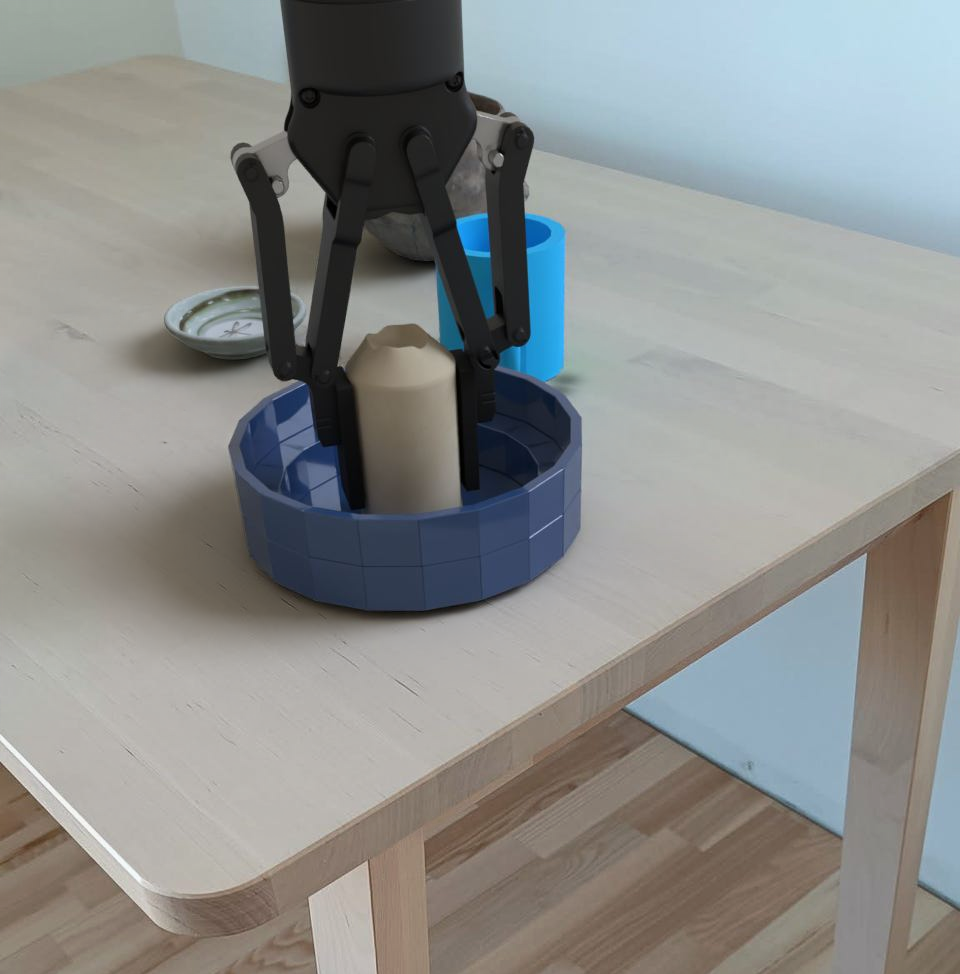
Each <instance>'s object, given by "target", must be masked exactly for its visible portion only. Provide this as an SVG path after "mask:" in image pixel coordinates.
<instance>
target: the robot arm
mask: <svg viewBox="0 0 960 974" xmlns="http://www.w3.org/2000/svg"><path fill="white" fill-rule="evenodd" d="M279 3H280V11H281V18H282V19H281V20H282V27H283V28H282V29H283V36H284V45H285V52H286V60H287V67H288V69H287V70H288V76H289V84H290V102H289V107H288V111H287V113H286V115H285V119H284V122H283V131H281V132H279V133H276V134H275V135H272V136H271V137H268V138H267V139H264V140H262V141H260V142H257V144H253V145H251V144H250V143H248V142H239V143H236V144H235V145H234V146H233V147H232V149H231V150H230V162H231V165H232V167H233V170H234V172H235V174H236V176H237V180H238V181H239V183H240V185H241V188H242V189H243V192H244V194H245V196H246V198H247V200H248V204H249V206H248V207H249V214H250V220H251V221H250V223H251V232H252V240H253V250H254V260H255V267H256V276H257V286H259V295H260V304H261V313H262V322H263V331H264V340H265V349H266V353H265V354H266V356H267V360H268V362H269V365H270V368H271V370H272V373H273V376H274V377H275V378H276V379H277V380H279V381H281V382H289V381H302V382H304V383H306V384H307V385H308V389H309V396H310V404H311V411H312V419H313V427H314V429H315V432H316V435H317V437H318V439H319V441H320V443H321V444H322V446H323V447H330V446H336V445H337V452H338V460H339V468H340V476H341V485H342V489H343V491H344V494H345V496H346V499H347V501H348V504H349V506H350V509H351V510H357V509H364V508H365V503H364V493H363V484H362V475H361V466H360V456H359V447H358V438H357V429H356V419H355V410H354V401H353V392H352V387H351V384H350V382H349V380H348V378H347V376H346V374H345V371H344V369H343V367H344V366H343V365H340V366H339V361H340V355H341V351H342V349H341V348H342V343H343V337H344V331H345V326H346V320H347V319H346V318H347V313H348V307H349V302H350V296H351V289H352V284H353V277H354V273H355V272H354V271H355V265H356V258H357V254H358V249H359V246H360V245H361V243H362V240H363V234H364V229H365V227H364V222H365V220H373V219H377V218H379V217H382V216H384V215H386V214H389V213H391V212H395V213H401V214H407V215H412V214H418V215H419V217H420V220H421V222H422V225H423V228H424V231H425V234H426V237H427V240H428V243H429V246H430V249H431V251H432V254H433V257H434V260H433V261H434V263H435V267H436V266H437V269H438V272H439V275H440V278H441V281H442V284H443V287H444V290H445V293H446V296H447V299H448V302H449V304H450V307H451V310H452V313H453V316H454V319H455V322H456V325H457V328H458V331H459V334H460V337H461V340H462V342H463V343H464V351H463V350H462V349H456V350H449V352H450V353H451V354H452V355H453V356H454V358H455V364H456V383H457V403H458V422H459V442H460V461H461V481H462V484H463V486H464V488H465V490H466V492H467V491H473V490H480V477H479V452H478V427H477V423H482V422H489V421H492V420H493V417H494V414H495V376H494V369H495V368H496V367H497V366H498V364H499V362H500V353H501V352H503V351H504V350H506V349H508V348H510V347H512V346H514V347H521V346H524V345H525V344H526V343H527V342H528V341H529V339H530V335H531V327H530V306H529V286H528V265H527V245H526V224H525V213H526V208H525V207H526V206H525V202H524V180H525V181H526V175H527V171H528V168H529V164H530V160H531V156H532V153H533V148H534V145H535V134H534V132H533V130H532V129H531V128H530V127H529V126H528V125H527V124H526V123H525V122H524V121H523V120H522V119H520V118H519V117H518V116H517V115H516V114H515V113H513V112H512V111H505V113H502V114H501V115H500V116H496V115H492V114H488V113H484V112H480V111H476V108H475V106H474V104H473V102H472V100H471V98H470V97H469V94H468V92H467V91H468V90H467V86H466V80H465V55H464V52H465V51H464V30H463V28H464V27H463V1H462V0H279ZM472 139H474V140H475V141H476V144H477V156H478V159H479V160H480V162H481V163H482V164H483V165H484V166H485V167H486V169H485V186H486V201H487V216H488V230H489V245H490V260H491V274H492V289H493V303H494V316H492V317H490V318H488V319H486V316H485V313H484V310H483V307H482V304H481V301H480V298H479V295H478V291H477V288H476V285H475V282H474V279H473V276H472V273H471V270H470V266H469V263H468V260H467V257H466V254H465V251H464V248H463V245H462V242H461V238H460V235H459V232H458V229H457V222H456V218H455V215H454V212H453V209H452V205H451V202H450V199H449V196H448V193H447V190H446V187H445V186H446V185H447V183H448V181H449V179H450V177H451V176H452V174H453V172H454V170H455V168H456V167H457V165H458V163H459V161H460V159H461V158H462V156H463V154H464V152H465V150H466V149H467V147H468V145H469V143H470V141H471V140H472ZM296 160H297V161H298V163H300V165H301V166H302V167H303V168H304V169H305V170H306V171H307V173H308V174H309V175H310V176H311V177H312V179H313V180H314V181H315V182H316V184H318V186H319V188H321V189H322V190H323V192H324V193H325V194H324V200H323V206H322V217H321V218H322V229H321V234H320V235H321V236H320V242H319V249H318V255H317V263H316V268H315V269H316V270H315V276H314V283H313V290H312V296H311V303H310V310H309V316H308V317H309V318H308V322H307V323H308V324H307V330H306V337H305V343H304V345H299V344H296V337H295V336H296V335H295V331H294V324H293V314H292V303H291V293H292V292H291V283H290V272H289V264H288V263H289V261H288V251H287V240H286V231H285V223H284V216H283V212H282V208H281V205H280V201H279V198H281V197H283V196H284V195H285V194H286V193H288V190H289V186H290V179H289V175H288V174H289V169H290V166H291V164H293V162H295V161H296Z"/></svg>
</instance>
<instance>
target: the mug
mask: <svg viewBox="0 0 960 974" xmlns="http://www.w3.org/2000/svg"><path fill="white" fill-rule="evenodd" d="M456 222H457V229H458V232H459V235H460V238H461V242H462V245H463V248H464V251H465V254H466V257H467V260H468V263H469V266H470V270H471V273H472V276H473V279H474V282H475V285H476V288H477V291H478V295H479V298H480V301H481V304H482V307H483V310H484V313H485V316H486V319H488V318H490V317H492V316H494V303H493V289H492V274H491V260H490V245H489V230H488V216H487V213H484V214H476V215H471V216H467V217H463V218H459V219H456ZM525 224H526V245H527V265H528V286H529V306H530V327H531V335H530V339H529V341H528V342H527V343H526V344H525V345H524V346H521V347H514V346H512V347H510V348H508V349H506V350H504V351H503V352H501V353H500V362H499V364H498V366H502V367H505V368H508V369H511V370H515V371H518V372H521V373H525V374H528V375H531V376H534V377H536V378H538V379H539V380H541V381H543V382H544V383H546V382H547V381H549V380H550V379H553V378H555V377H557V375H558V374H559V373H560V372H561V371H562V370H563V369H564V361H565V293H566V292H565V289H566V288H565V287H566V286H565V285H566V284H565V283H566V282H565V281H566V280H565V279H566V229H565V228H564V226H563V225H562V224H561V222H558V221H556V220H554V219H552V218H550V217H546V216H543V215H537V214H535V213H527V212H525ZM435 276H436V277H435V278H436V279H435V280H436V295H437V311H438V327H439V328H438V329H439V343H441V344H442V345H443V346H444V347H445V348H446V349H447V350H448V351H449V350H456V349H462V350H463V351H464V343H463V342H462V340H461V337H460V334H459V331H458V328H457V325H456V322H455V319H454V316H453V313H452V310H451V307H450V304H449V302H448V299H447V296H446V293H445V290H444V287H443V284H442V281H441V278H440V275H439V272H438V269H437V266H436V265H435Z"/></svg>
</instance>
